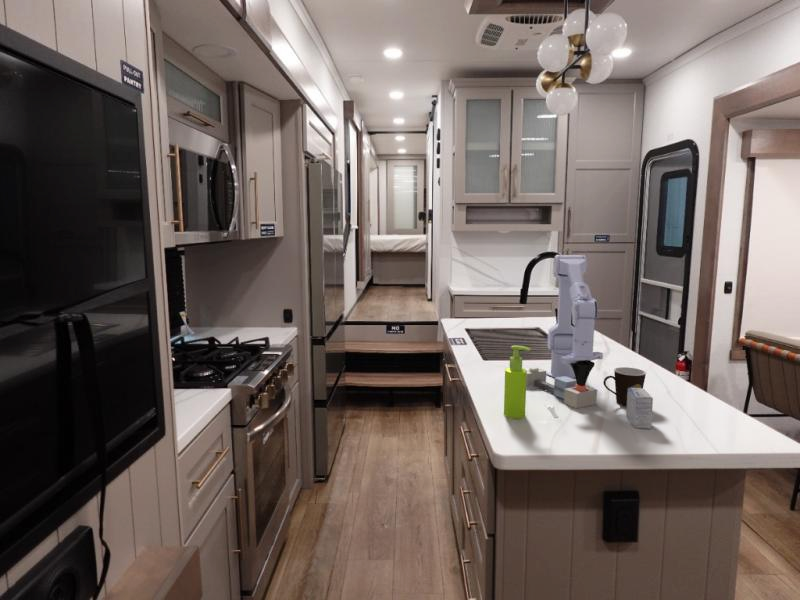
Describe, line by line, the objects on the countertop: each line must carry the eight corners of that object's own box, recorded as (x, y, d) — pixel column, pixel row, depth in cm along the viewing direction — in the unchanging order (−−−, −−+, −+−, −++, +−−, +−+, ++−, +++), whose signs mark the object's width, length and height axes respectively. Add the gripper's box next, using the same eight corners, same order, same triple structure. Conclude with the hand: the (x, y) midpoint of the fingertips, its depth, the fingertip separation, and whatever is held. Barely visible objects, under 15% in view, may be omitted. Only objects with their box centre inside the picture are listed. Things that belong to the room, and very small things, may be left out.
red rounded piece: (580, 393, 151) (581, 382, 151) (587, 396, 149) (588, 385, 148) (572, 395, 150) (573, 384, 150) (580, 398, 147) (580, 386, 147)
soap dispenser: (524, 420, 137) (527, 349, 134) (500, 416, 140) (502, 346, 137) (531, 414, 142) (533, 345, 139) (508, 409, 145) (509, 342, 142)
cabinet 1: (539, 381, 172) (540, 365, 171) (545, 383, 169) (546, 368, 168) (521, 384, 168) (521, 368, 167) (527, 387, 165) (527, 371, 165)
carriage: (564, 392, 158) (565, 376, 158) (576, 397, 154) (577, 380, 153) (553, 394, 157) (554, 377, 156) (565, 399, 152) (566, 382, 151)
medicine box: (651, 429, 131) (653, 397, 129) (633, 428, 131) (635, 396, 130) (642, 418, 138) (644, 388, 137) (625, 417, 139) (627, 387, 138)
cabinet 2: (583, 399, 154) (584, 385, 153) (596, 404, 149) (597, 389, 148) (563, 403, 150) (564, 388, 150) (576, 408, 146) (576, 393, 145)
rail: (538, 385, 168) (539, 379, 167) (576, 400, 152) (576, 394, 152) (534, 385, 167) (534, 380, 166) (571, 401, 152) (571, 395, 151)
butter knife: (553, 403, 150) (543, 403, 150) (573, 436, 126) (562, 436, 126) (553, 404, 150) (543, 404, 150) (573, 438, 126) (561, 437, 126)
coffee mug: (641, 400, 152) (643, 368, 151) (645, 410, 144) (647, 376, 143) (600, 396, 156) (602, 365, 155) (602, 405, 148) (604, 373, 147)
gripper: (574, 345, 140) (572, 392, 142) (611, 340, 146) (609, 385, 148) (556, 340, 147) (555, 385, 148) (593, 336, 153) (591, 378, 155)
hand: (581, 384), depth 149 cm, fingers closed, pressing on red rounded piece
